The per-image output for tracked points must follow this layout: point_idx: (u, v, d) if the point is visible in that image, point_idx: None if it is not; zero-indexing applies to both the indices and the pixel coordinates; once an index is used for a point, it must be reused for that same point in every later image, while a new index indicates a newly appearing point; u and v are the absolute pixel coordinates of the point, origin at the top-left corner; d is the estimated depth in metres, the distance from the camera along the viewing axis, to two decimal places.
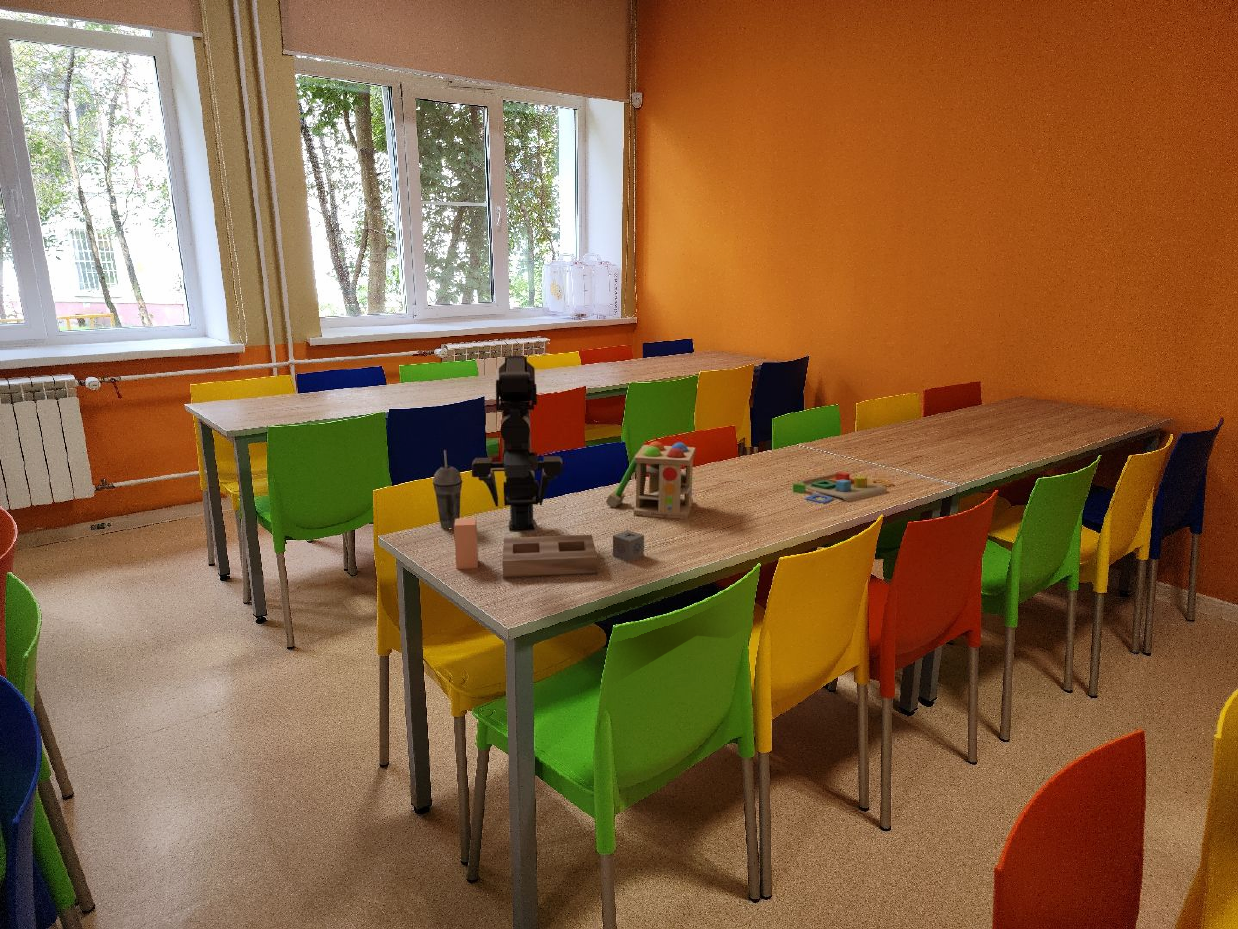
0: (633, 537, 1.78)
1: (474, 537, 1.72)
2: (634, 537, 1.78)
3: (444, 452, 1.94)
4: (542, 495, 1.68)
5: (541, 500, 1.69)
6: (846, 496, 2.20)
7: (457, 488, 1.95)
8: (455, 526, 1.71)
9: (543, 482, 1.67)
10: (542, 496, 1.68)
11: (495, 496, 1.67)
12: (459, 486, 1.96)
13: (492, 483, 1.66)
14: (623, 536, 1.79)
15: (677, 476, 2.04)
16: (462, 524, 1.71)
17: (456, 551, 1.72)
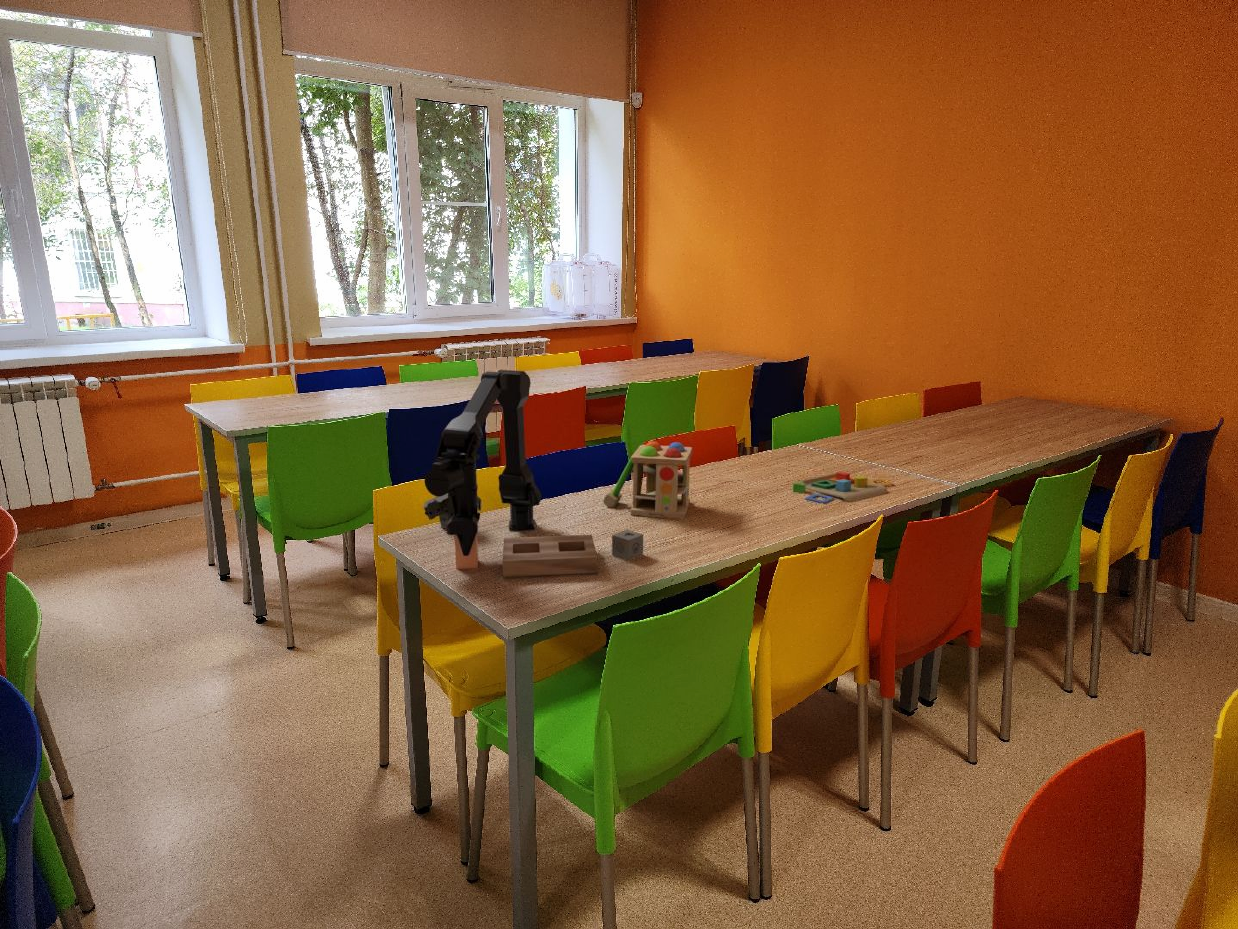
0: (632, 536, 1.79)
1: None
2: (633, 536, 1.79)
3: None
4: None
5: None
6: (846, 496, 2.20)
7: None
8: None
9: None
10: None
11: None
12: None
13: None
14: (622, 535, 1.79)
15: (674, 476, 2.04)
16: None
17: (456, 551, 1.72)
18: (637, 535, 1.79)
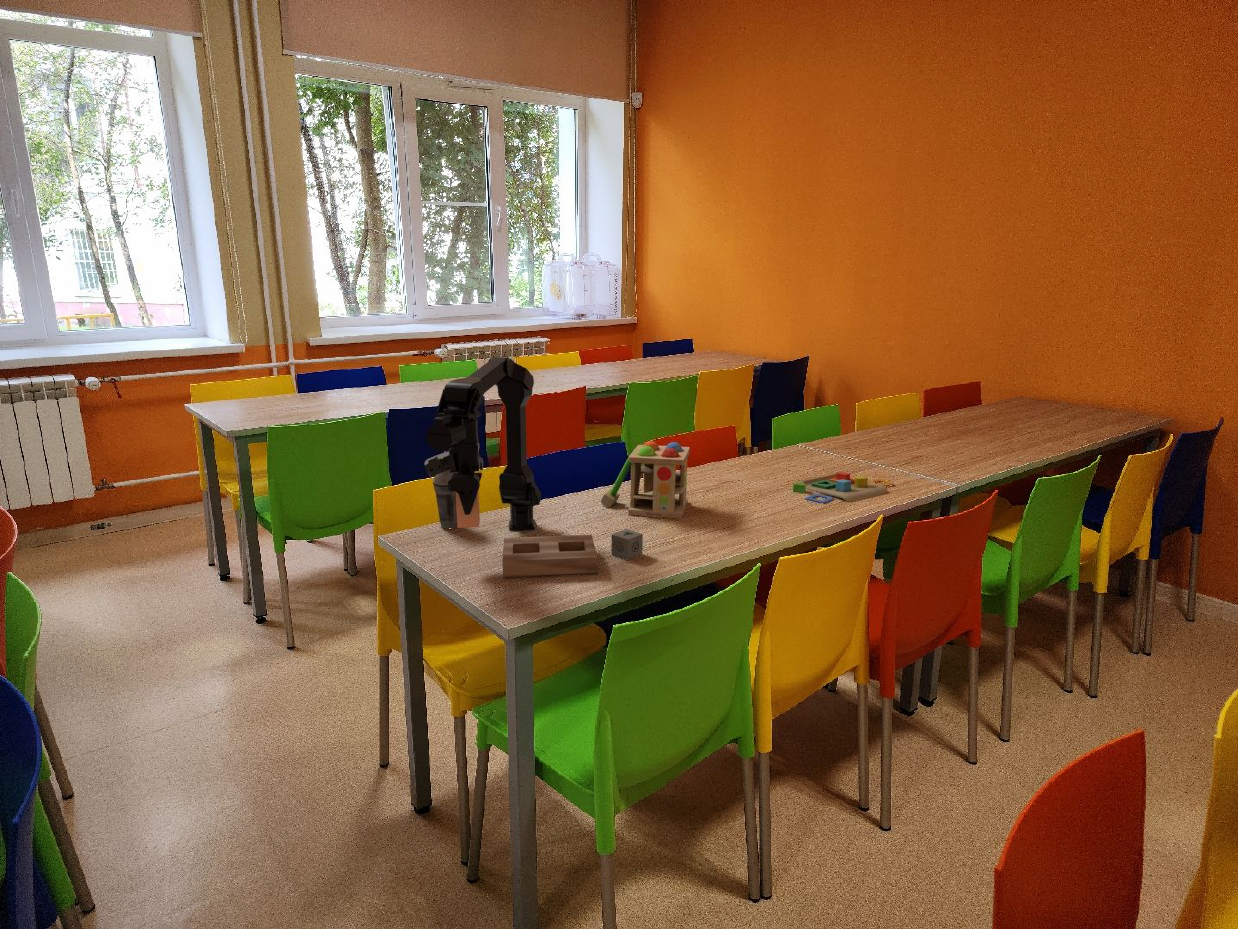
0: (632, 536, 1.79)
1: None
2: (633, 535, 1.79)
3: (444, 452, 1.94)
4: None
5: None
6: (846, 496, 2.20)
7: None
8: None
9: None
10: None
11: None
12: None
13: None
14: (622, 534, 1.80)
15: (671, 476, 2.04)
16: None
17: (457, 510, 1.70)
18: (636, 534, 1.80)
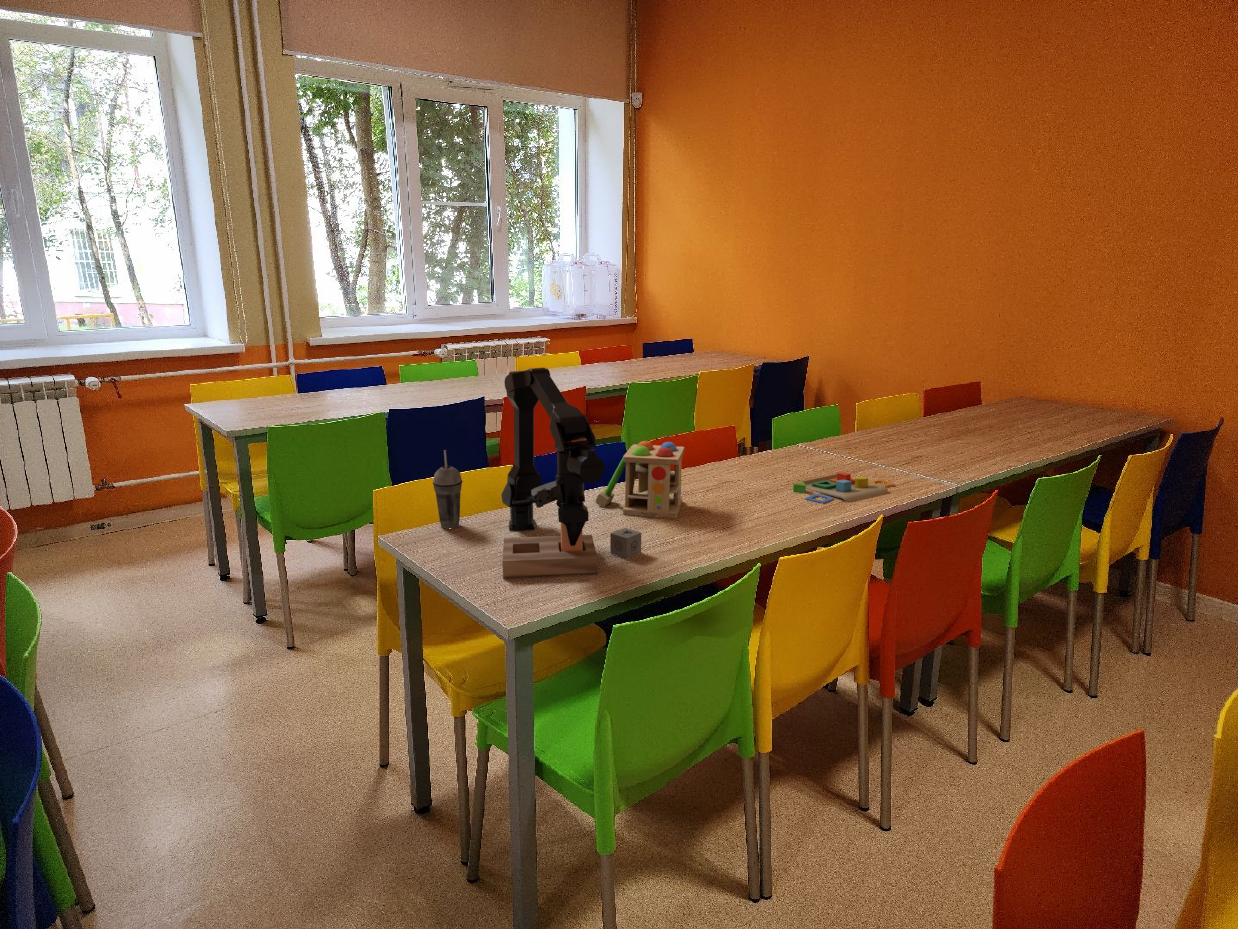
0: (630, 534, 1.80)
1: (581, 534, 1.72)
2: (631, 534, 1.80)
3: (444, 452, 1.94)
4: (568, 536, 1.70)
5: (569, 540, 1.71)
6: (846, 496, 2.20)
7: (457, 488, 1.95)
8: (562, 523, 1.71)
9: None
10: (568, 537, 1.70)
11: None
12: (459, 486, 1.96)
13: None
14: (621, 533, 1.81)
15: (666, 476, 2.04)
16: None
17: (562, 548, 1.73)
18: (635, 533, 1.81)
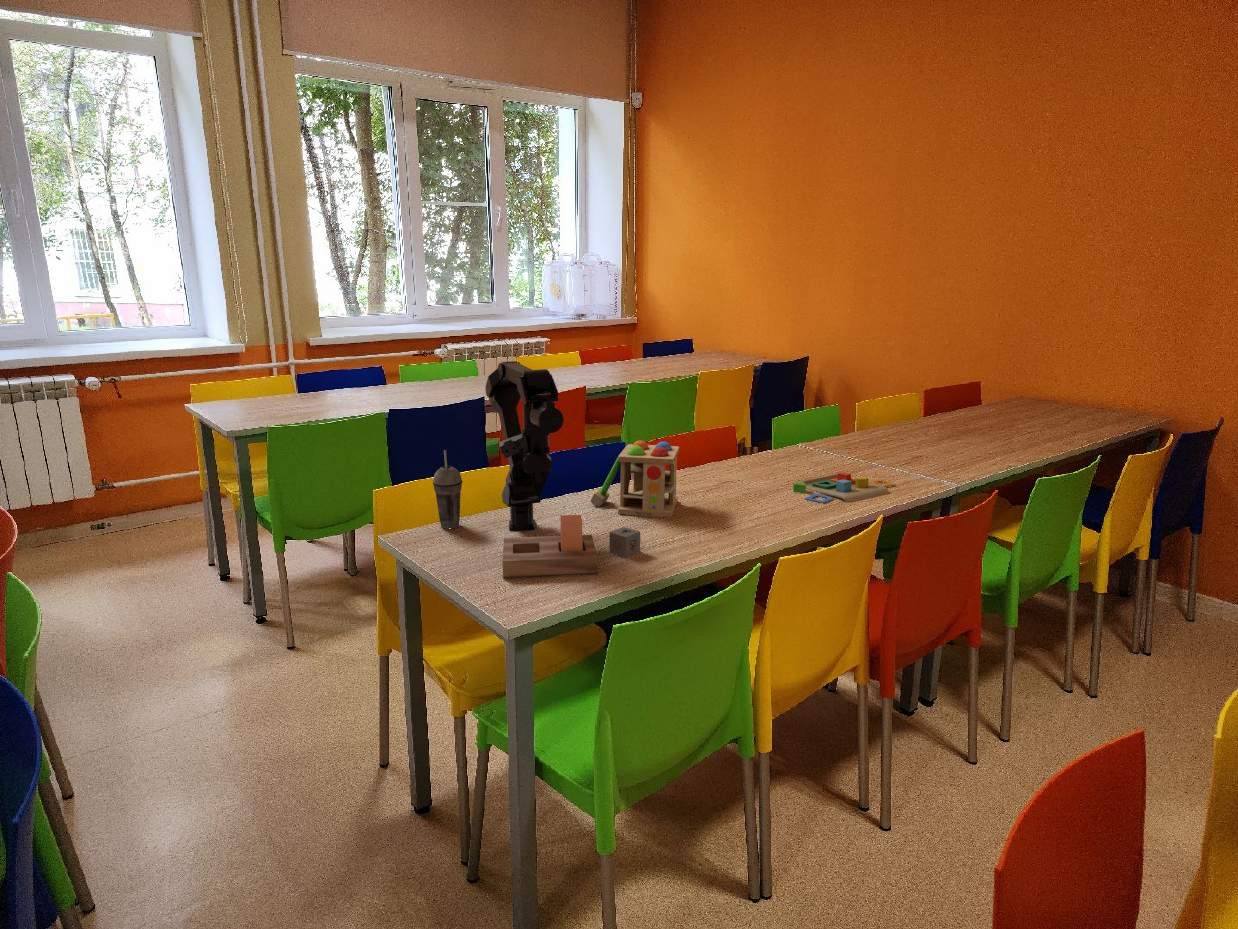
0: (629, 533, 1.81)
1: (581, 534, 1.72)
2: (630, 533, 1.81)
3: (444, 452, 1.94)
4: (533, 486, 1.80)
5: (534, 491, 1.81)
6: (846, 496, 2.20)
7: (457, 488, 1.95)
8: (562, 523, 1.71)
9: None
10: (533, 487, 1.80)
11: None
12: (459, 486, 1.96)
13: None
14: (620, 532, 1.81)
15: (661, 475, 2.05)
16: (569, 521, 1.72)
17: (562, 548, 1.73)
18: (634, 532, 1.81)
